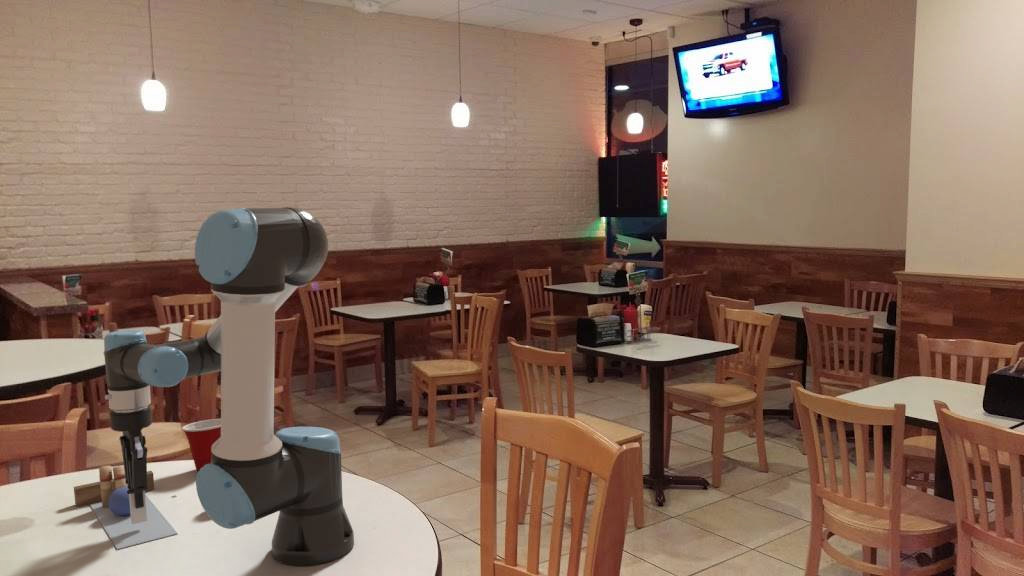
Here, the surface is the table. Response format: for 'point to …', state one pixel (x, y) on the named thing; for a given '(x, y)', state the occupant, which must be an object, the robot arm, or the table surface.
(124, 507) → the ball
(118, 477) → the pin front
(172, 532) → the plate
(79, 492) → the backstop
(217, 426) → the plastic cup
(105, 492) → the pin left
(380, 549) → the table surface
